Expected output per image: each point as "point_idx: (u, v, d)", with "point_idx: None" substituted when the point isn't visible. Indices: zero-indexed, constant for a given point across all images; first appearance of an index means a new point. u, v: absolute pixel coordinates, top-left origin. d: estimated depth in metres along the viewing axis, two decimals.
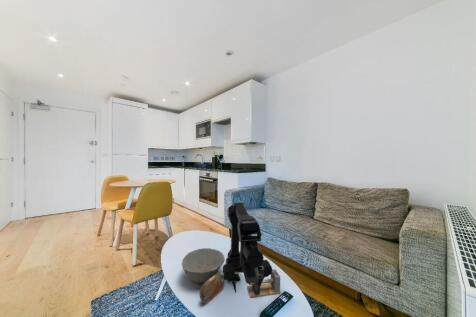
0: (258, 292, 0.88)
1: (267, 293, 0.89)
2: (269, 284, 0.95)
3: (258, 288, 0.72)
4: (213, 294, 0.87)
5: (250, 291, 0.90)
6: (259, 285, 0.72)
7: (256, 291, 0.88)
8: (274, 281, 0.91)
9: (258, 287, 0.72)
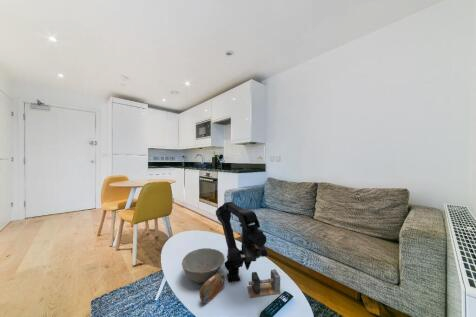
0: (258, 292, 0.88)
1: (267, 293, 0.89)
2: (269, 284, 0.95)
3: (247, 268, 0.89)
4: (213, 294, 0.87)
5: (250, 291, 0.90)
6: (248, 266, 0.89)
7: (256, 291, 0.88)
8: (274, 281, 0.91)
9: (247, 268, 0.89)
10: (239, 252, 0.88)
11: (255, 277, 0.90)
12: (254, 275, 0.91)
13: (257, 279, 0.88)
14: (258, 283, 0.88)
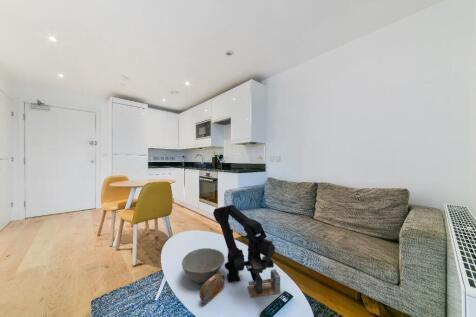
0: (260, 292, 0.88)
1: (267, 293, 0.89)
2: (269, 284, 0.95)
3: (253, 279, 0.90)
4: (213, 294, 0.87)
5: (250, 291, 0.90)
6: (254, 277, 0.90)
7: (258, 291, 0.88)
8: (274, 281, 0.91)
9: (253, 278, 0.90)
10: (245, 263, 0.89)
11: (257, 277, 0.90)
12: (256, 275, 0.91)
13: (259, 279, 0.89)
14: (260, 283, 0.88)
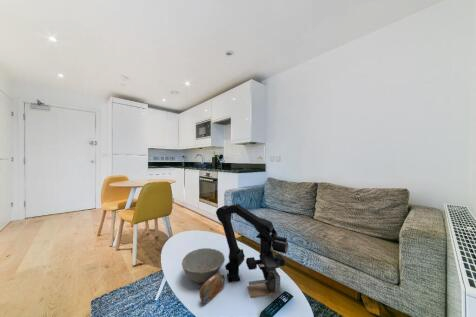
0: (272, 290, 0.89)
1: (267, 293, 0.89)
2: None
3: (265, 277, 0.91)
4: (213, 294, 0.87)
5: (250, 291, 0.90)
6: (266, 275, 0.91)
7: (270, 289, 0.89)
8: (274, 281, 0.91)
9: (265, 277, 0.91)
10: (258, 262, 0.90)
11: (269, 275, 0.91)
12: None
13: (271, 277, 0.90)
14: (272, 281, 0.89)
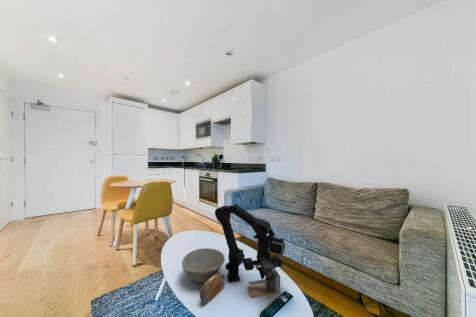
0: (272, 290, 0.89)
1: (267, 293, 0.89)
2: None
3: (262, 278, 0.91)
4: (213, 294, 0.87)
5: (250, 291, 0.90)
6: (263, 276, 0.91)
7: (271, 289, 0.89)
8: None
9: (262, 277, 0.91)
10: (255, 262, 0.90)
11: (269, 275, 0.91)
12: (268, 273, 0.93)
13: (271, 277, 0.90)
14: (273, 281, 0.89)
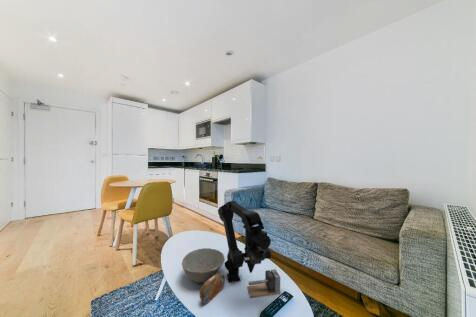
0: (272, 290, 0.89)
1: (267, 293, 0.89)
2: None
3: (251, 271, 0.86)
4: (213, 294, 0.87)
5: (250, 291, 0.90)
6: (252, 269, 0.86)
7: (271, 289, 0.89)
8: None
9: (251, 270, 0.86)
10: (243, 255, 0.85)
11: (269, 275, 0.91)
12: (268, 273, 0.93)
13: (271, 277, 0.90)
14: (273, 281, 0.89)
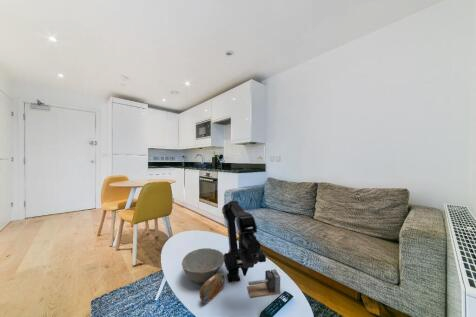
0: (272, 290, 0.89)
1: (267, 293, 0.89)
2: None
3: (244, 275, 0.84)
4: (213, 294, 0.87)
5: (250, 291, 0.90)
6: (245, 272, 0.84)
7: (271, 289, 0.89)
8: None
9: (244, 274, 0.84)
10: (236, 257, 0.83)
11: (269, 275, 0.91)
12: (268, 273, 0.93)
13: (271, 277, 0.90)
14: (273, 281, 0.89)
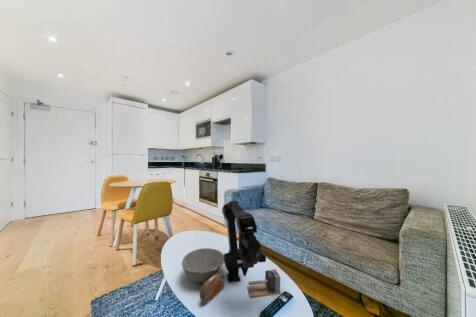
0: (272, 290, 0.89)
1: (267, 293, 0.89)
2: None
3: (244, 275, 0.84)
4: (213, 294, 0.87)
5: (250, 291, 0.90)
6: (245, 272, 0.84)
7: (271, 289, 0.89)
8: None
9: (244, 274, 0.84)
10: (236, 257, 0.83)
11: (269, 275, 0.91)
12: (268, 273, 0.93)
13: (271, 277, 0.90)
14: (273, 281, 0.89)
